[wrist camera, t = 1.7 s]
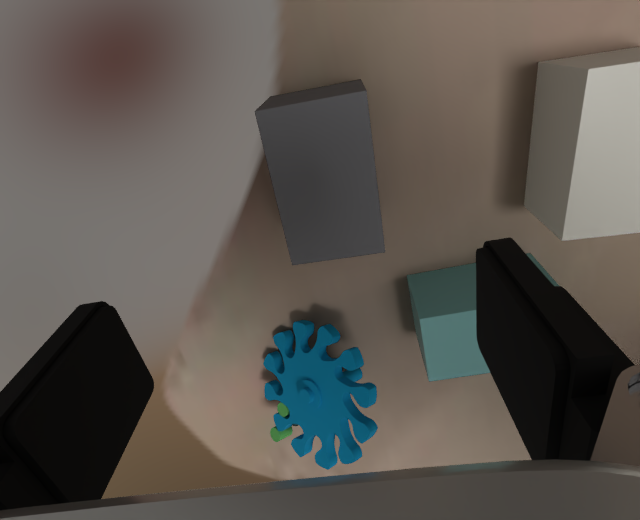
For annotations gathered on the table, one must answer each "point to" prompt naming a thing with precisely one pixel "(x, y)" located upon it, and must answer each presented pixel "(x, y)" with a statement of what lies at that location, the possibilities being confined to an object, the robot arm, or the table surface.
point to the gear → (319, 394)
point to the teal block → (449, 320)
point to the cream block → (586, 145)
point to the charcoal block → (323, 171)
